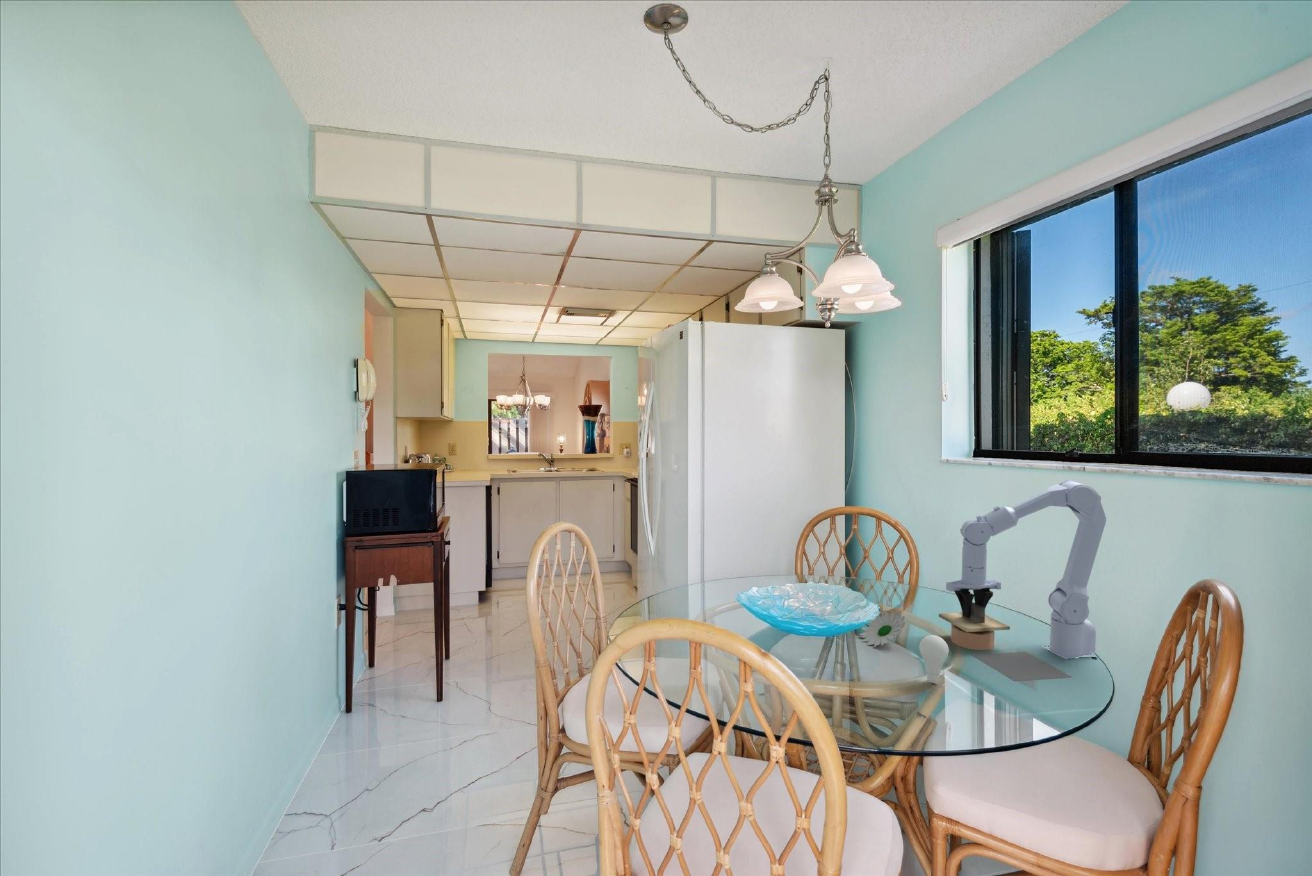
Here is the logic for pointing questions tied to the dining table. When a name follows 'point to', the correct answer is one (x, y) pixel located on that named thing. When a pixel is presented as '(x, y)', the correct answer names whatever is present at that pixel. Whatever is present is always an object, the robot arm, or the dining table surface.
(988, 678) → the dining table surface
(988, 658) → the mat
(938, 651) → the lightbulb
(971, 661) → the dining table surface
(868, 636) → the flower
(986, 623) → the lid
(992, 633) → the bowl
